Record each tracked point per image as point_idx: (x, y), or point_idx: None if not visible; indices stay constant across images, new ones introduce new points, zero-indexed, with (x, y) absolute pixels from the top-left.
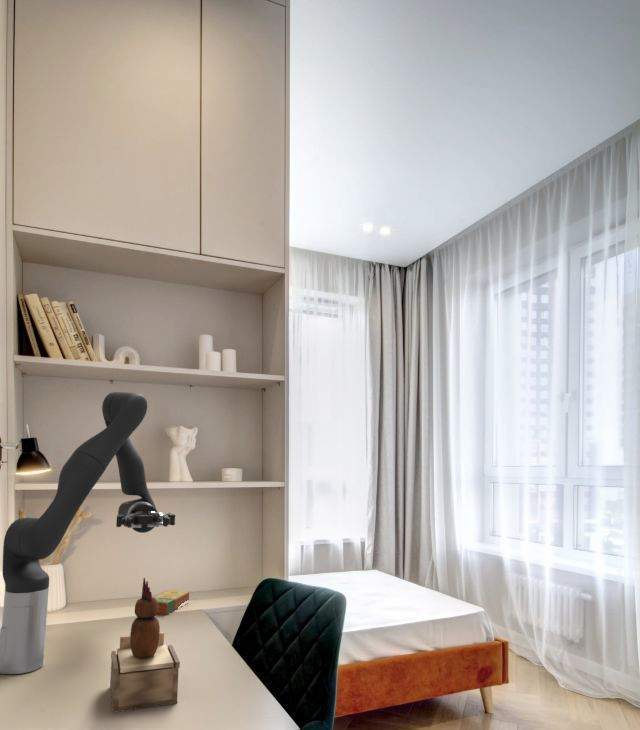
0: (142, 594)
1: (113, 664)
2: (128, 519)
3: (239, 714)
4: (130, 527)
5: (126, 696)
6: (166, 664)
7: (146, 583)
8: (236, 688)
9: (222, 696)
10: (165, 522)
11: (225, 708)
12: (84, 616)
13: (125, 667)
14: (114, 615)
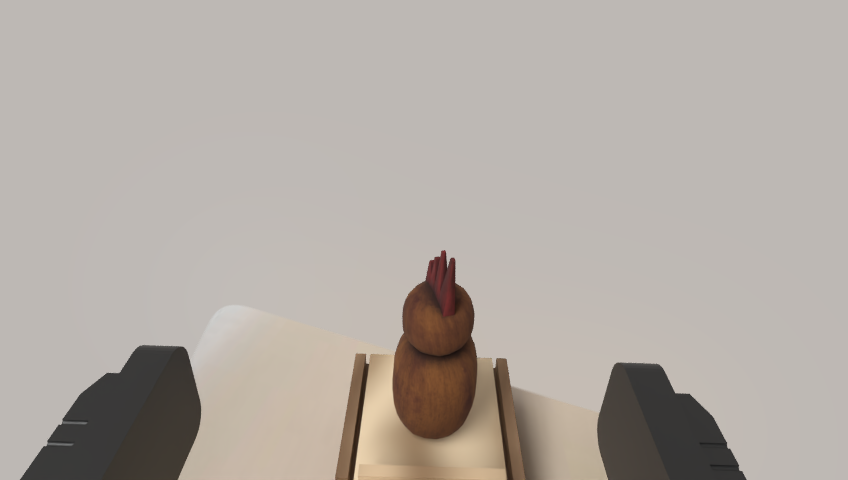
0: (453, 301)
1: (510, 385)
2: (663, 387)
3: (272, 342)
4: (604, 436)
5: None
6: (387, 356)
7: (445, 256)
8: (205, 444)
9: (258, 416)
10: (186, 380)
11: (282, 368)
12: None
13: (481, 360)
14: None
